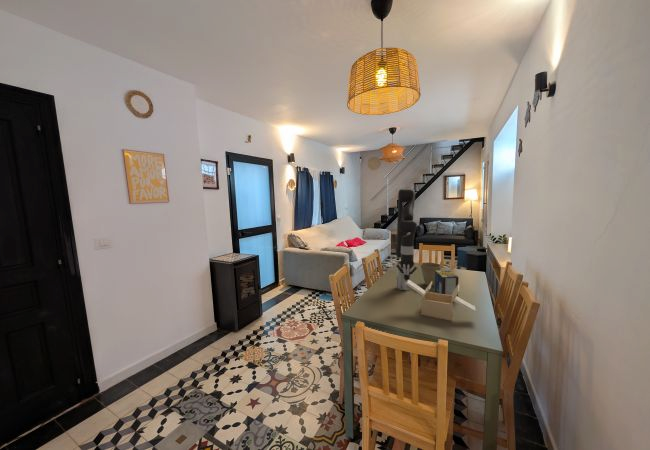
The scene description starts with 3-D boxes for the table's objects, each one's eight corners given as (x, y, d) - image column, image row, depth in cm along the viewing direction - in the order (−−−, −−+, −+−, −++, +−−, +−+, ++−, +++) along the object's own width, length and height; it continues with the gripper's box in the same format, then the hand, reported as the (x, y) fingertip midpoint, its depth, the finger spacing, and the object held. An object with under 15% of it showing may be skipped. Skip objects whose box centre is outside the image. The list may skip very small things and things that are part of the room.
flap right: (458, 291, 137) (482, 304, 133) (458, 283, 149) (480, 295, 144) (451, 302, 140) (474, 315, 135) (451, 293, 151) (473, 305, 147)
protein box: (449, 290, 185) (449, 270, 183) (458, 299, 169) (458, 277, 168) (434, 290, 186) (434, 270, 184) (441, 299, 170) (442, 276, 169)
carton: (421, 315, 148) (421, 299, 147) (424, 305, 160) (424, 291, 159) (451, 320, 140) (452, 304, 139) (452, 310, 152) (453, 295, 151)
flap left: (422, 298, 147) (403, 285, 151) (425, 291, 159) (407, 278, 163) (430, 288, 144) (410, 275, 149) (432, 281, 156) (414, 269, 160)
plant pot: (434, 280, 207) (435, 262, 205) (444, 287, 192) (444, 267, 190) (416, 281, 206) (417, 262, 204) (425, 288, 191) (425, 267, 190)
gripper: (394, 253, 155) (394, 280, 157) (417, 255, 148) (416, 283, 150) (397, 250, 161) (397, 277, 163) (419, 252, 155) (418, 279, 157)
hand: (406, 280), depth 157 cm, fingers closed
